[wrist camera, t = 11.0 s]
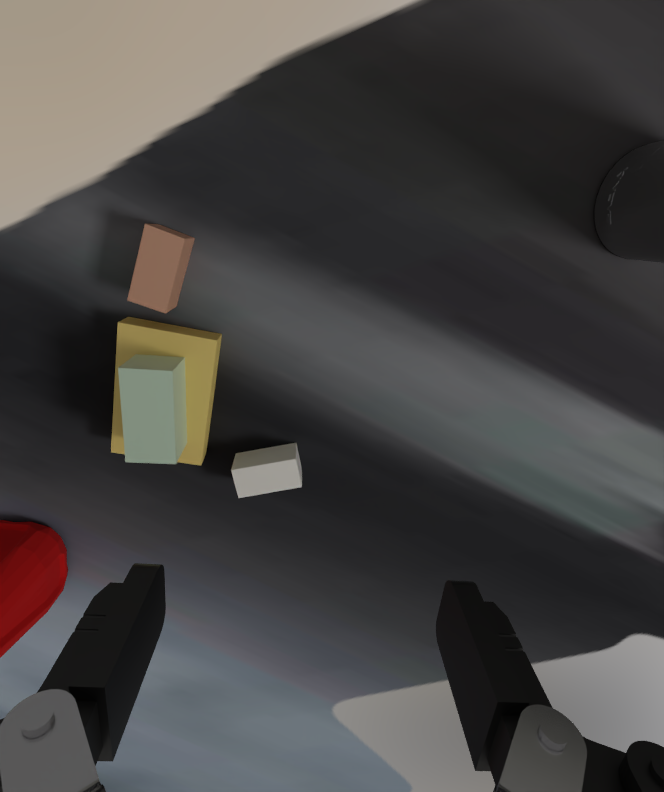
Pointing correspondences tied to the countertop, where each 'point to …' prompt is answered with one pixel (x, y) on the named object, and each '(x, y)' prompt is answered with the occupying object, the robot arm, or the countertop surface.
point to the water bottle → (28, 576)
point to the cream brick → (267, 470)
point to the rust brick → (160, 267)
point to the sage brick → (153, 408)
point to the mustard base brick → (198, 375)
